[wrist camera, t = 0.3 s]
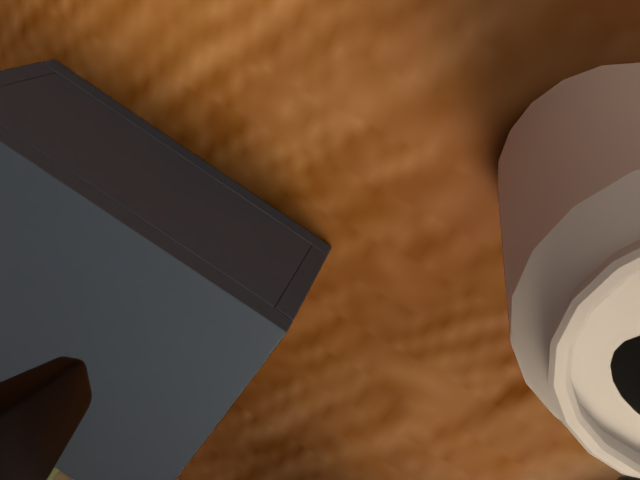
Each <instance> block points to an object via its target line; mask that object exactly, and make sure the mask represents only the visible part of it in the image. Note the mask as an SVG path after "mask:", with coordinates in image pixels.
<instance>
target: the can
mask: <svg viewBox="0 0 640 480" xmlns="http://www.w3.org/2000/svg"><path fill="white" fill-rule="evenodd" d="M498 201H499V213H500V225H501V236H502V248H503V260H504V272H505V284H506V296H507V308H508V319H509V331H510V342H511V345H512V348H513V350H514V353H515V356H516V358H517V361H518V364H519V366H520V369H521V372H522V374H523V377H524V380H525V382H526V384H527V385H528V386H529V387H530V388H531V390H532V391H533V392H534V393H535V394H536V395H537V397H538V398H539V399H540V400H541V401H542V402H543V403H544V405H545V406H546V407H547V408H548V409H549V410H550V412H551V413H552V414H553V415H554V416H555V417H556V418H557V419H559V420H560V421H561V422H562V423H563V424H564V425H565V426H566V427H567V428H568V430H569V431H570V432H571V433H572V434H573V435H574V437H575V438H576V439H577V440H578V441H579V442H580V444H581V445H582V446H583V447H584V448H585V449H586V450H587V452H588V453H589V454H591V455H593V456H594V457H596V458H597V459H599V460H601V461H602V462H604V463H605V464H607V465H609V466H610V467H612V468H613V469H615V470H617V471H618V472H620V473H621V474H623V475H627V476H632V477H637V478H640V63H628V64H615V65H602V66H599V67H596V68H594V69H591V70H588V71H585V72H583V73H580V74H577V75H575V76H572V77H569V78H567V79H564V80H562V81H561V82H559V83H558V84H557V85H555V86H554V87H553V88H551V89H550V90H548V91H547V92H546V93H544V94H543V95H542V96H540V97H539V98H537V99H536V100H535V101H533V102H532V103H531V104H530V106H529V107H528V108H527V109H526V111H525V112H524V113H523V115H522V116H521V117H520V118H519V120H518V121H517V122H516V123H515V125H514V126H513V127H512V129H511V130H510V132H509V134H508V137H507V140H506V142H505V145H504V148H503V150H502V153H501V156H500V158H499V161H498Z"/></svg>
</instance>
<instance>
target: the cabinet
mask: <svg viewBox="0 0 640 480" xmlns="http://www.w3.org/2000/svg"><path fill="white" fill-rule="evenodd" d="M330 250H331V246H330V245H328V244H327V243H325V242H324V241H322V240H321V239H319V238H318V237H316V236H315V235H313V234H312V233H310V232H309V231H307V230H306V229H304V228H303V227H301V226H300V225H298V224H297V223H295V222H294V221H293V220H291V219H290V218H288V217H287V216H285V215H284V214H282V213H281V212H279V211H278V210H276V209H275V208H273V207H272V206H270V205H269V204H267V203H266V202H264V201H263V200H261V199H260V198H258V197H257V196H256V195H254V194H253V193H251V192H250V191H248V190H247V189H245V188H244V187H242V186H241V185H239V184H238V183H236V182H235V181H233V180H232V179H230V178H229V177H227V176H226V175H224V174H223V173H221V172H220V171H219V170H217V169H216V168H214V167H213V166H211V165H210V164H208V163H207V162H205V161H204V160H202V159H201V158H199V157H198V156H196V155H195V154H193V153H192V152H190V151H189V150H187V149H186V148H184V147H183V146H181V145H180V144H179V143H177V142H176V141H174V140H173V139H171V138H170V137H168V136H167V135H165V134H164V133H162V132H161V131H159V130H158V129H156V128H155V127H153V126H152V125H150V124H149V123H147V122H146V121H144V120H143V119H142V118H140V117H139V116H137V115H136V114H134V113H133V112H131V111H130V110H128V109H127V108H125V107H124V106H122V105H121V104H119V103H118V102H116V101H115V100H113V99H112V98H110V97H109V96H107V95H106V94H105V93H103V92H102V91H100V90H99V89H97V88H96V87H94V86H93V85H91V84H90V83H88V82H87V81H85V80H84V79H82V78H81V77H79V76H78V75H76V74H75V73H73V72H72V71H70V70H69V69H67V68H66V67H65V66H63V65H62V64H60V63H59V62H57V61H56V60H49V61H44V62H38V63H34V64H29V65H24V66H20V67H15V68H10V69H5V70H1V71H0V382H2V381H4V380H6V379H9V378H11V377H13V376H16V375H18V374H20V373H23V372H25V371H27V370H30V369H32V368H34V367H37V366H39V365H41V364H44V363H46V362H48V361H51V360H53V359H55V358H58V357H61V356H67V357H71V358H76V359H80V360H82V361H84V363H85V364H86V367H87V372H88V376H89V381H90V386H91V391H92V400H91V404H90V406H89V408H88V410H87V412H86V414H85V415H84V417H83V419H82V421H81V422H80V424H79V426H78V427H77V429H76V431H75V433H74V434H73V436H72V438H71V439H70V441H69V443H68V445H67V446H66V448H65V450H64V451H63V453H62V455H61V457H60V458H59V460H58V462H57V463H56V465H55V468H57V469H58V470H60V471H61V472H63V473H64V474H66V475H67V476H69V477H71V478H72V479H74V480H176V479H177V477H178V476H179V475H180V473H181V472H182V471H183V469H184V468H185V467H186V465H187V464H188V463H189V461H190V460H191V459H192V457H193V456H194V455H195V453H196V452H197V451H198V449H199V448H200V447H201V446H202V444H203V443H204V442H205V440H206V439H207V438H208V436H209V435H210V434H211V432H212V431H213V430H214V428H215V427H216V426H217V424H218V423H219V422H220V420H221V419H222V418H223V416H224V415H225V414H226V412H227V411H228V410H229V408H230V407H231V406H232V404H233V403H234V402H235V401H236V399H237V398H238V397H239V395H240V394H241V393H242V391H243V390H244V389H245V387H246V386H247V385H248V383H249V382H250V381H251V379H252V378H253V377H254V375H255V374H256V373H257V371H258V370H259V369H260V367H261V366H262V365H263V363H264V362H265V361H266V359H267V358H268V357H269V356H270V354H271V353H272V352H273V350H274V349H275V348H276V346H277V345H278V344H279V342H280V341H281V340H282V338H283V337H284V336H285V334H286V333H287V331H288V329H289V327H290V325H291V324H292V321H293V320H294V318H295V316H296V314H297V312H298V310H299V309H300V307H301V305H302V303H303V301H304V299H305V297H306V295H307V293H308V291H309V290H310V288H311V286H312V284H313V282H314V280H315V278H316V276H317V274H318V272H319V271H320V269H321V267H322V265H323V263H324V261H325V259H326V257H327V255H328V253H329V251H330Z"/></svg>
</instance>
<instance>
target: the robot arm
mask: <svg viewBox="0 0 640 480" xmlns="http://www.w3.org/2000/svg"><path fill="white" fill-rule="evenodd" d="M91 400H92V391H91V386H90V381H89V376H88V372H87V367H86V364H85V363H84V361H82V360H80V359H76V358H71V357H67V356H61V357H58V358H55V359H53V360H51V361H48V362H46V363H44V364H41V365H39V366H37V367H34V368H32V369H30V370H27V371H25V372H23V373H20V374H18V375H16V376H13V377H11V378H9V379H6V380H4V381H2V382H0V480H47V478H48V477H49V475H50V474H51V472H52V470H53V469H54V467H55V465H56V463H57V462H58V460H59V458H60V457H61V455H62V453H63V451H64V450H65V448H66V446H67V445H68V443H69V441H70V439H71V438H72V436H73V434H74V433H75V431H76V429H77V427H78V426H79V424H80V422H81V421H82V419H83V417H84V415H85V414H86V412H87V410H88V408H89V406H90V404H91ZM617 480H640V478H637V477H632V476H627V475H622V476H620V477H619V478H618V479H617Z"/></svg>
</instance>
